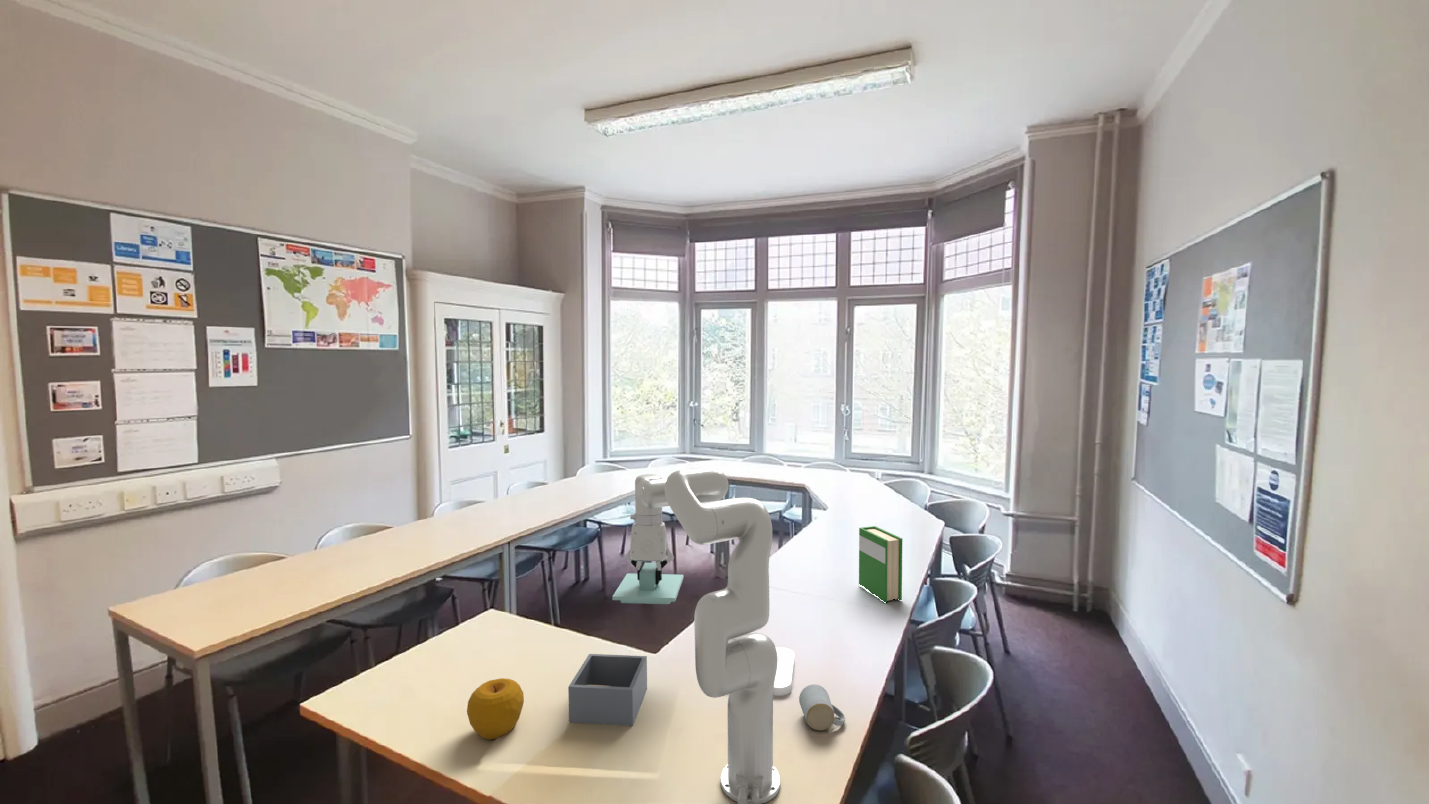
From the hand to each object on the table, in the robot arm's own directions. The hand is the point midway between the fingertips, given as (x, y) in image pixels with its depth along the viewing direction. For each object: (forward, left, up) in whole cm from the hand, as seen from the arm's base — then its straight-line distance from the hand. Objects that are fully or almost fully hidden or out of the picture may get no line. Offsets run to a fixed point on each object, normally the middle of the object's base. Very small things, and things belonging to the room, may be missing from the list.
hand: (649, 582), depth 157 cm
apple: (-27, +32, -28) cm, 50 cm away
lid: (0, 0, -3) cm, 3 cm away
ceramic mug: (-16, -47, -28) cm, 57 cm away
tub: (-16, +7, -27) cm, 33 cm away
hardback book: (+66, -77, -28) cm, 105 cm away
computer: (+5, -29, -28) cm, 41 cm away
